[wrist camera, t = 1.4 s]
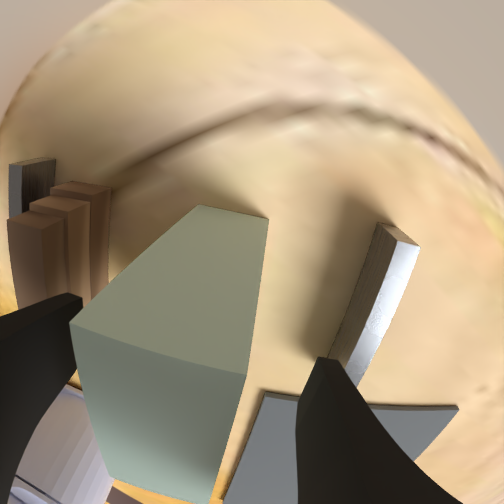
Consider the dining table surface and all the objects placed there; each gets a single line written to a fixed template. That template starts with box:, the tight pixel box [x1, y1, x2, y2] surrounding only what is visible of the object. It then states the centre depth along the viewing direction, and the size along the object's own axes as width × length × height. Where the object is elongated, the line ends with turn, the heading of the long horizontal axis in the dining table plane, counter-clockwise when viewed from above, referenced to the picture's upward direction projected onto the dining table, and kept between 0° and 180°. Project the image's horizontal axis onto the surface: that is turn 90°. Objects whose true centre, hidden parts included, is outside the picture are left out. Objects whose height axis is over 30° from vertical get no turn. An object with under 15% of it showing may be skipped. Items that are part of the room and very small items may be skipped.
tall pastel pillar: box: [69, 204, 269, 504], centre depth 10 cm, size 3×6×9 cm, turn 169°
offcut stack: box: [7, 181, 112, 309], centre depth 12 cm, size 2×6×5 cm, turn 169°
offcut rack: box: [9, 158, 421, 388], centre depth 13 cm, size 17×8×2 cm, turn 79°
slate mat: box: [222, 392, 459, 504], centre depth 19 cm, size 14×18×1 cm
